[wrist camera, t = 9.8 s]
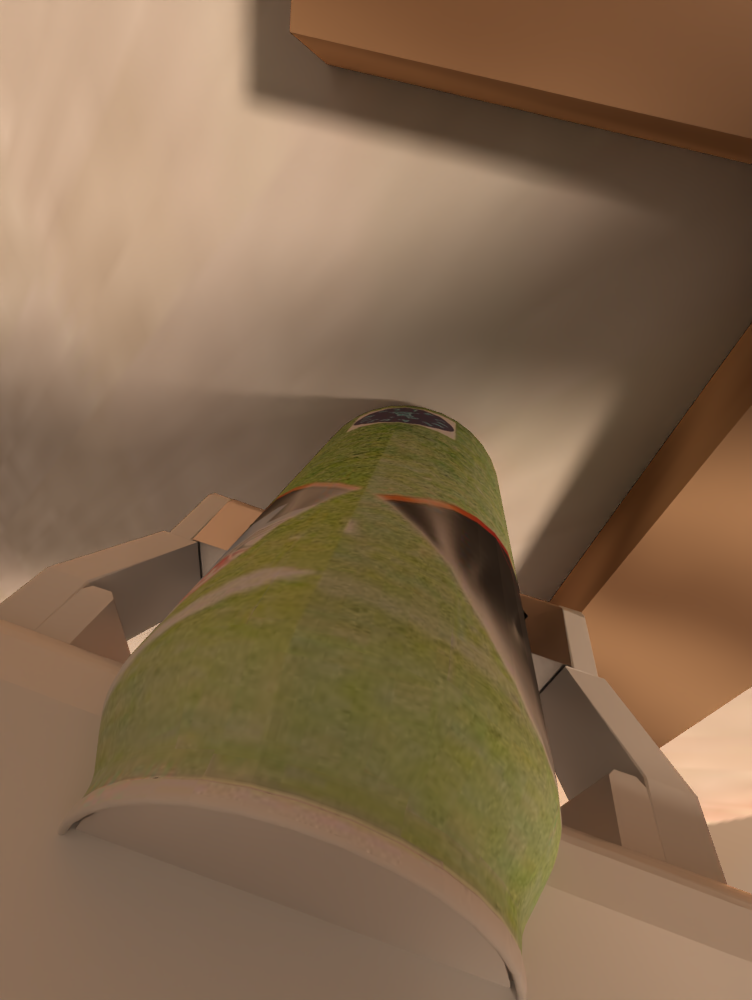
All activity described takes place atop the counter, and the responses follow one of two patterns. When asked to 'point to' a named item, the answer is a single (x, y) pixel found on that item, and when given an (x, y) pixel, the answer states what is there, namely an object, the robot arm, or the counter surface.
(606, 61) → the wooden u-shaped frame
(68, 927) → the robot arm
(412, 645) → the beverage can
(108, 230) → the counter surface
